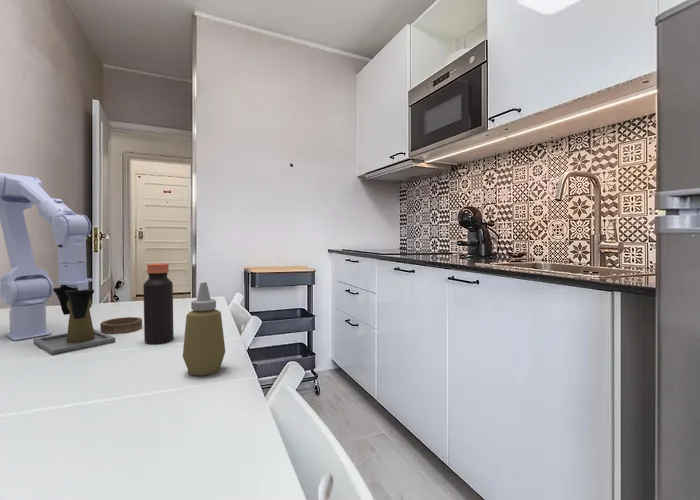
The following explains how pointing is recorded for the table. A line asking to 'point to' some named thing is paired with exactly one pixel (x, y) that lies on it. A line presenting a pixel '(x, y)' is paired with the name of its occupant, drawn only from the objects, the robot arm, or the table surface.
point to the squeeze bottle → (203, 335)
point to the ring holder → (121, 325)
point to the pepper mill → (80, 327)
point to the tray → (59, 344)
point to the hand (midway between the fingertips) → (74, 316)
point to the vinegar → (158, 305)
